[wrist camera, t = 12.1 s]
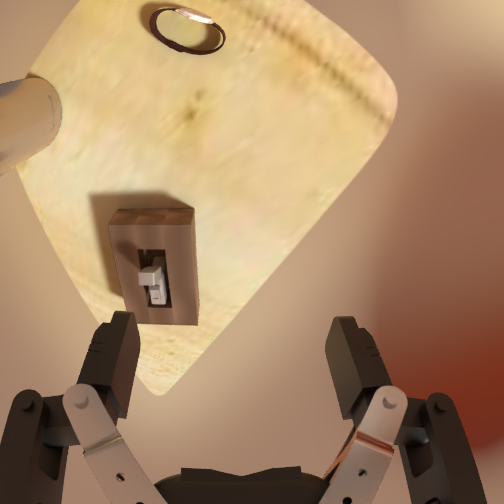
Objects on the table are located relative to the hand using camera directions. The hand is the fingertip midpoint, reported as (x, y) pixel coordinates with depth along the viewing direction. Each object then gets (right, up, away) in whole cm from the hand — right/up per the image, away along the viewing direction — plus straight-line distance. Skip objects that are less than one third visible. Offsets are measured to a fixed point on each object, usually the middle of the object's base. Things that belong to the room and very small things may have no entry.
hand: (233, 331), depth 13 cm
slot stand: (-11, +2, +27) cm, 29 cm away
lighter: (-11, +2, +28) cm, 30 cm away
